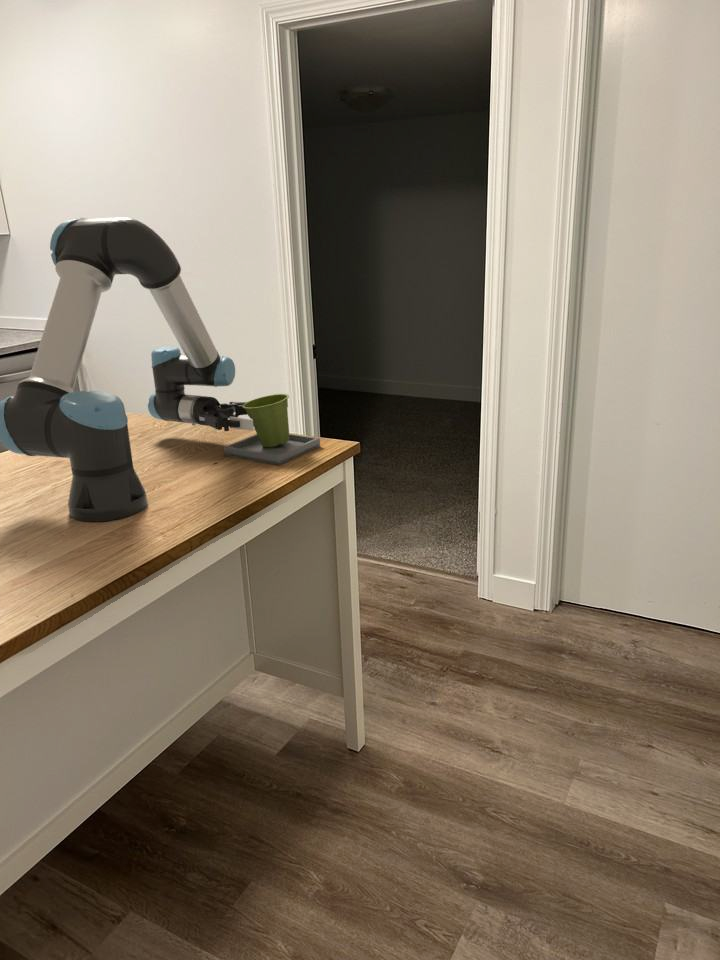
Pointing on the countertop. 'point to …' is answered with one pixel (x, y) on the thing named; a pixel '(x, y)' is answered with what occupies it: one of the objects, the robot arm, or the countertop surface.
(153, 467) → the countertop surface
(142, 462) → the countertop surface
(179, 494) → the countertop surface
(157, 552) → the countertop surface
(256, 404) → the plant pot
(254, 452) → the tray
